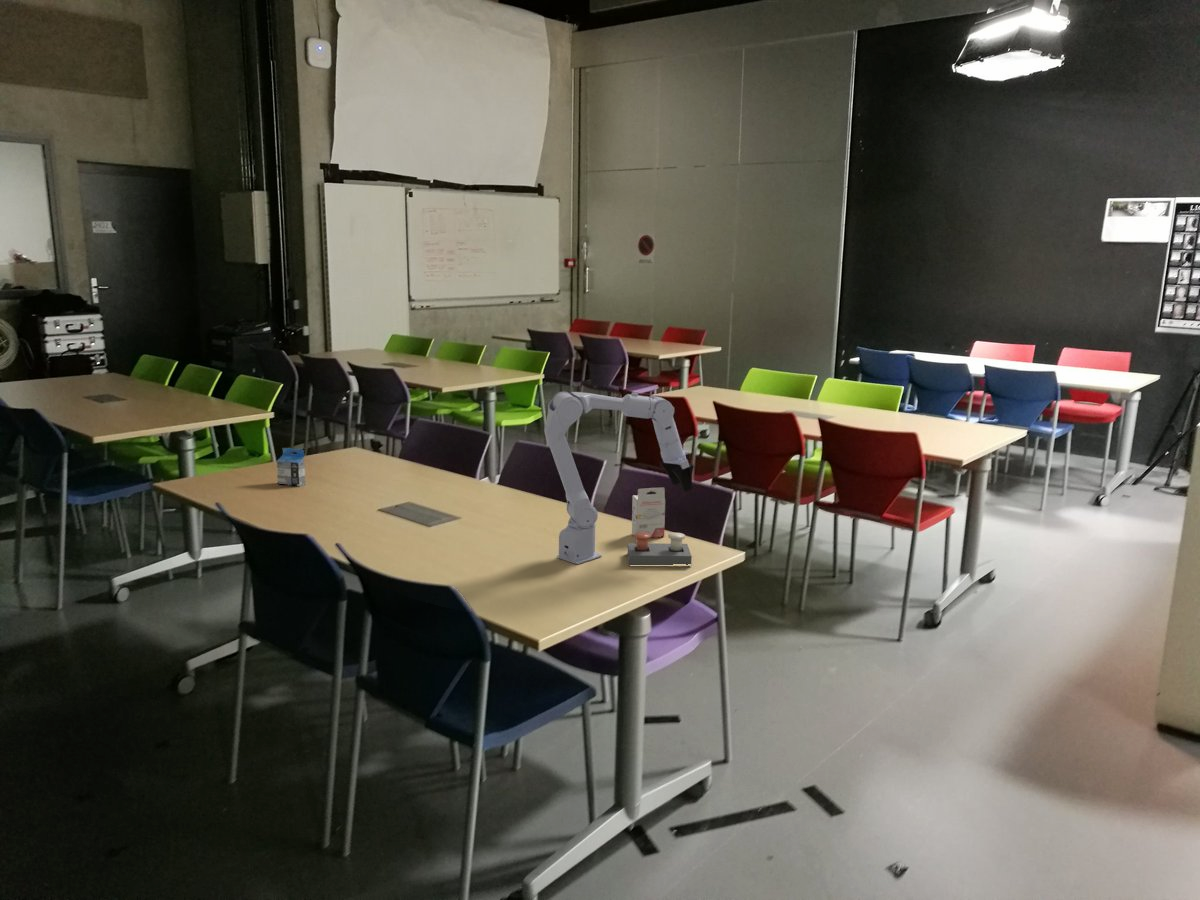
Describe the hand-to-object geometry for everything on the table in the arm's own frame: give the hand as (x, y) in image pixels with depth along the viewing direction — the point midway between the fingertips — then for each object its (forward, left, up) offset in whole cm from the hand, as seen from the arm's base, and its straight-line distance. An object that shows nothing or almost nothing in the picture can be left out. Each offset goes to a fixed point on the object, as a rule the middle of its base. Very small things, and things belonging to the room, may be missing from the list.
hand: (682, 486), depth 237 cm
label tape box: (-44, +135, -18) cm, 143 cm away
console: (-11, -2, -18) cm, 21 cm away
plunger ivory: (-8, -5, -15) cm, 17 cm away
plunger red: (-14, +1, -15) cm, 20 cm away
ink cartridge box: (+3, +14, -18) cm, 23 cm away
